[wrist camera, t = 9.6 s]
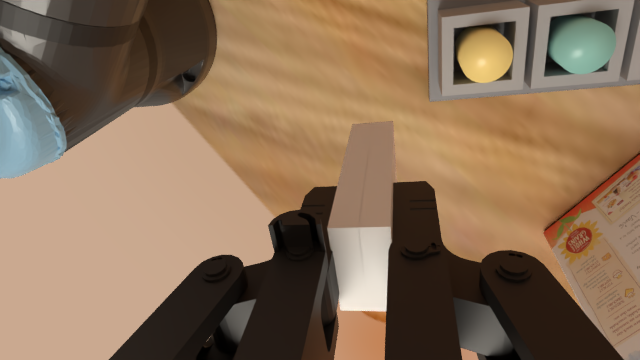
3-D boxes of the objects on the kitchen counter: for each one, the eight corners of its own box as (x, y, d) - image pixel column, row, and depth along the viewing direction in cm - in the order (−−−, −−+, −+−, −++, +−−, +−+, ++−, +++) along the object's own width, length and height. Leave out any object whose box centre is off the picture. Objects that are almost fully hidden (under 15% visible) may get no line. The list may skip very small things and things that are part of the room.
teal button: (539, 62, 36) (555, 76, 32) (544, 15, 34) (562, 25, 30) (588, 57, 35) (610, 71, 31) (596, 9, 33) (620, 18, 30)
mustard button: (454, 70, 37) (460, 85, 34) (454, 26, 36) (461, 36, 32) (499, 66, 37) (511, 80, 33) (502, 20, 35) (514, 30, 31)
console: (429, 98, 41) (432, 116, 37) (426, -13, 36) (430, -6, 32) (689, 76, 37) (727, 94, 32) (725, -54, 32) (776, -53, 28)
